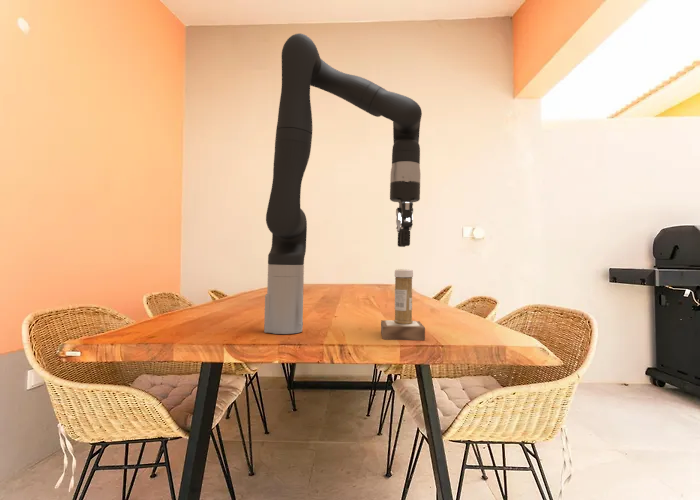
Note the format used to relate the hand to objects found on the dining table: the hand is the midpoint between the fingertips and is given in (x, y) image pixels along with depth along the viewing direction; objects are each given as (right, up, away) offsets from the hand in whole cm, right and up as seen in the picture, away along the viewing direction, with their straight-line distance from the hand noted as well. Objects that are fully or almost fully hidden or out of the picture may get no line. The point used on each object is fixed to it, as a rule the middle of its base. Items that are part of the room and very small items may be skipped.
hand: (403, 246), depth 103 cm
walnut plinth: (0, -23, 0) cm, 23 cm away
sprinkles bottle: (0, -20, 0) cm, 20 cm away
